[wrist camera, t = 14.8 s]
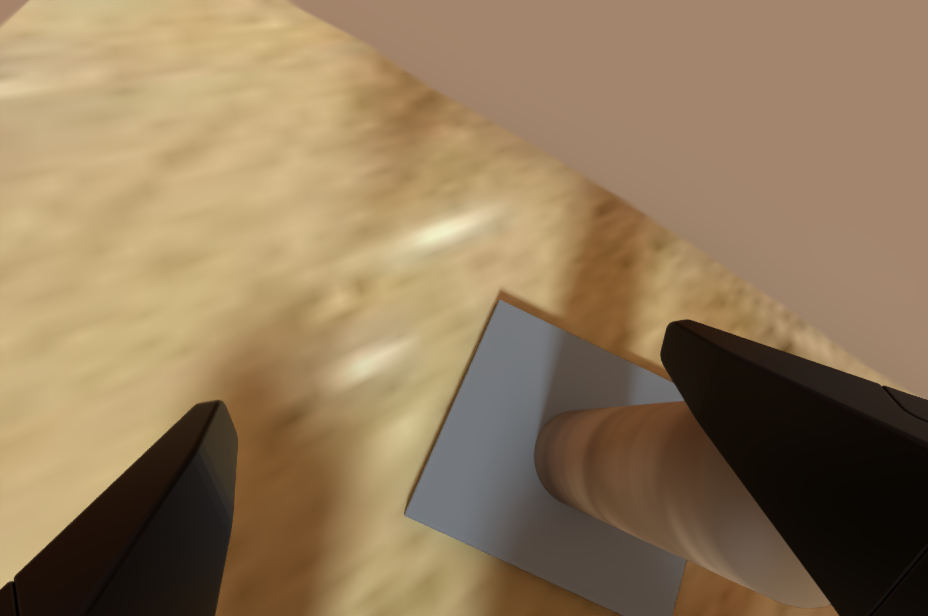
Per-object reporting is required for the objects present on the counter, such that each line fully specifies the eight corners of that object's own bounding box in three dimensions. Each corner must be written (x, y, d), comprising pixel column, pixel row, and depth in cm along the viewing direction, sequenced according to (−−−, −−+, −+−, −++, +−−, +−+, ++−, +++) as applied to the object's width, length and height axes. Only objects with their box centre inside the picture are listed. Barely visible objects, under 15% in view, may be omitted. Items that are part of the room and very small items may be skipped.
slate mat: (659, 630, 21) (667, 636, 21) (404, 512, 21) (404, 515, 20) (718, 408, 25) (725, 408, 24) (497, 302, 24) (499, 299, 24)
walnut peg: (639, 466, 22) (919, 511, 10) (573, 528, 21) (803, 658, 9) (582, 392, 23) (787, 355, 11) (515, 448, 22) (661, 476, 10)
